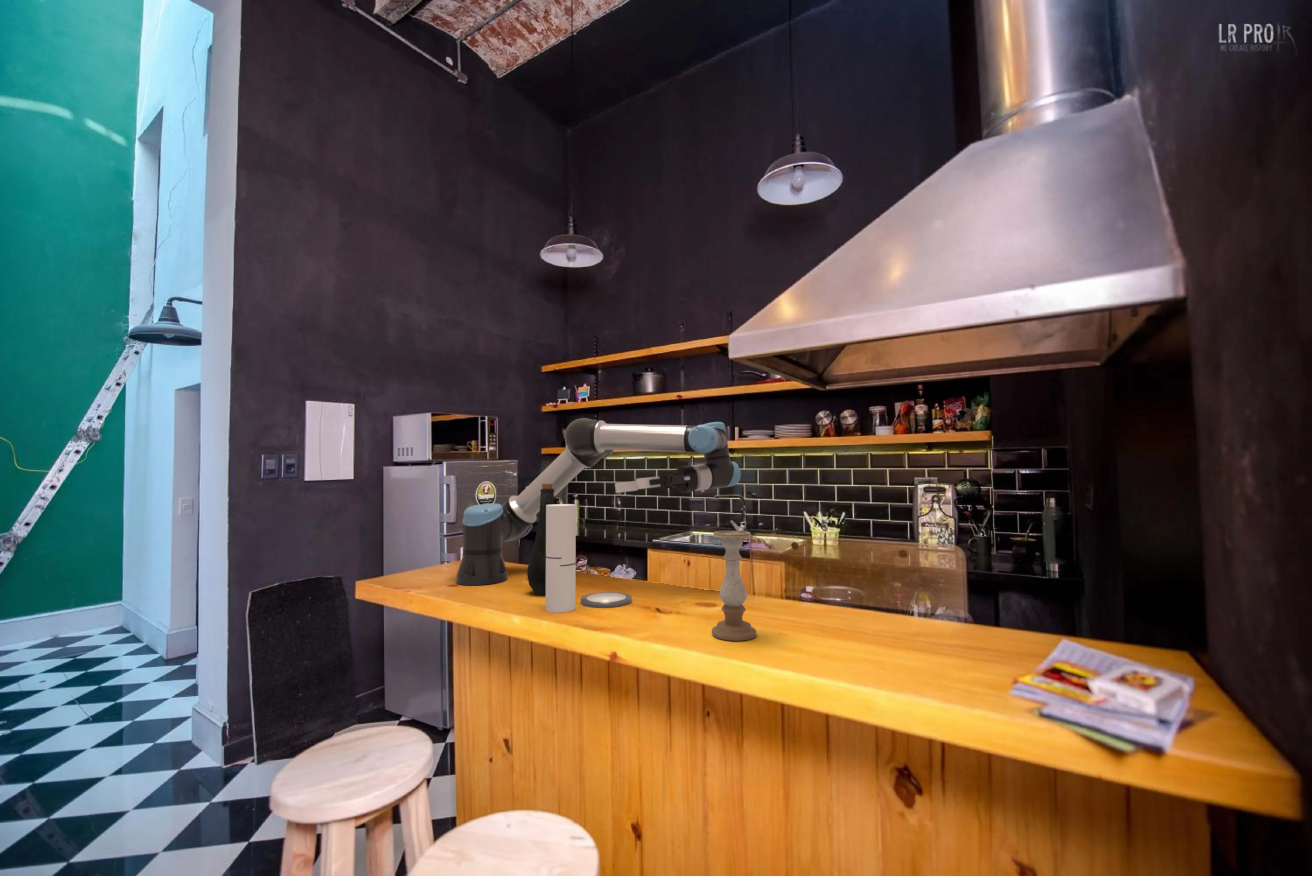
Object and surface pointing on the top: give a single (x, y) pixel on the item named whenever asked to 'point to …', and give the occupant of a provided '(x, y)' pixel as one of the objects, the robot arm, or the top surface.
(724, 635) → the candle holder
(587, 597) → the base plate
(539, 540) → the bottle
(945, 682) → the top surface
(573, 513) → the cylindrical container
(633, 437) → the robot arm
